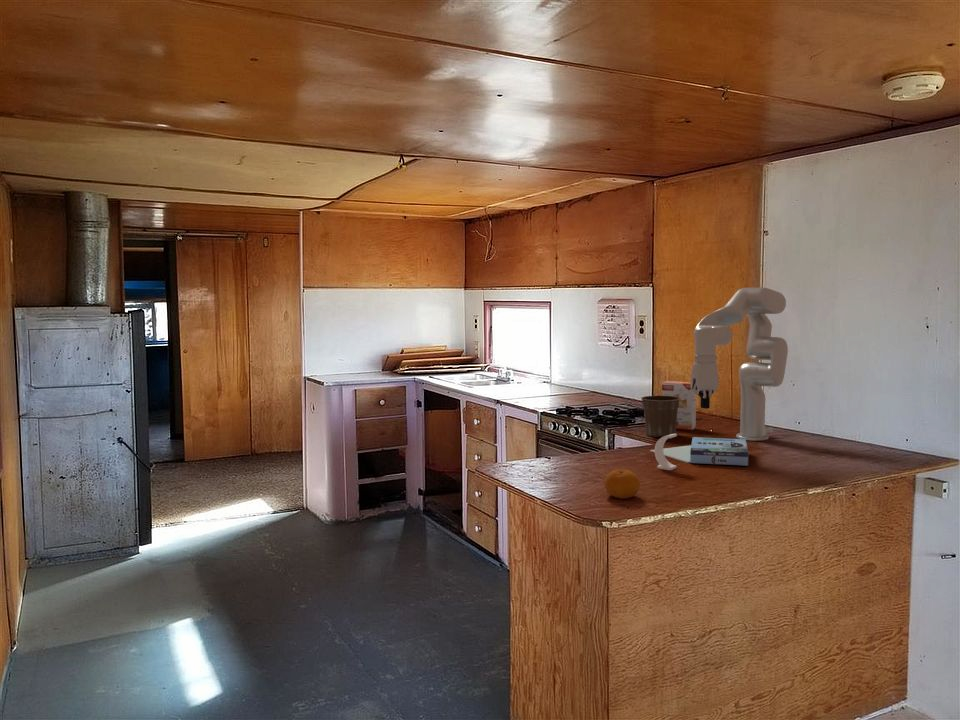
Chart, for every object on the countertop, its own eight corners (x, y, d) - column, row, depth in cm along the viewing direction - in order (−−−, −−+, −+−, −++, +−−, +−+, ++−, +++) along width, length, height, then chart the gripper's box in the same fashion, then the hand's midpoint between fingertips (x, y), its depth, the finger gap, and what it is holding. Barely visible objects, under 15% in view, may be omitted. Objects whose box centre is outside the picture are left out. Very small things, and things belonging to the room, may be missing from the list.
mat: (691, 446, 283) (691, 445, 283) (731, 457, 263) (731, 456, 263) (649, 451, 275) (649, 450, 275) (688, 463, 255) (688, 461, 255)
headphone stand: (670, 470, 245) (670, 435, 244) (654, 467, 249) (654, 433, 248) (676, 468, 248) (676, 433, 247) (661, 465, 252) (661, 431, 251)
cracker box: (661, 427, 323) (661, 381, 321) (665, 425, 328) (666, 380, 326) (691, 430, 315) (692, 383, 313) (696, 428, 320) (696, 382, 318)
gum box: (745, 439, 268) (749, 452, 247) (745, 452, 269) (748, 466, 247) (691, 436, 274) (690, 449, 253) (691, 449, 275) (690, 463, 253)
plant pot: (633, 435, 307) (633, 397, 306) (655, 430, 318) (656, 394, 316) (665, 440, 295) (665, 401, 293) (687, 435, 305) (688, 397, 304)
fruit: (601, 500, 211) (601, 473, 210) (608, 490, 221) (608, 465, 220) (637, 503, 207) (637, 476, 206) (642, 493, 217) (642, 467, 216)
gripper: (713, 357, 275) (713, 405, 277) (682, 360, 269) (682, 408, 271) (727, 359, 268) (727, 407, 270) (696, 362, 262) (696, 411, 264)
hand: (705, 408), depth 270 cm, fingers closed
